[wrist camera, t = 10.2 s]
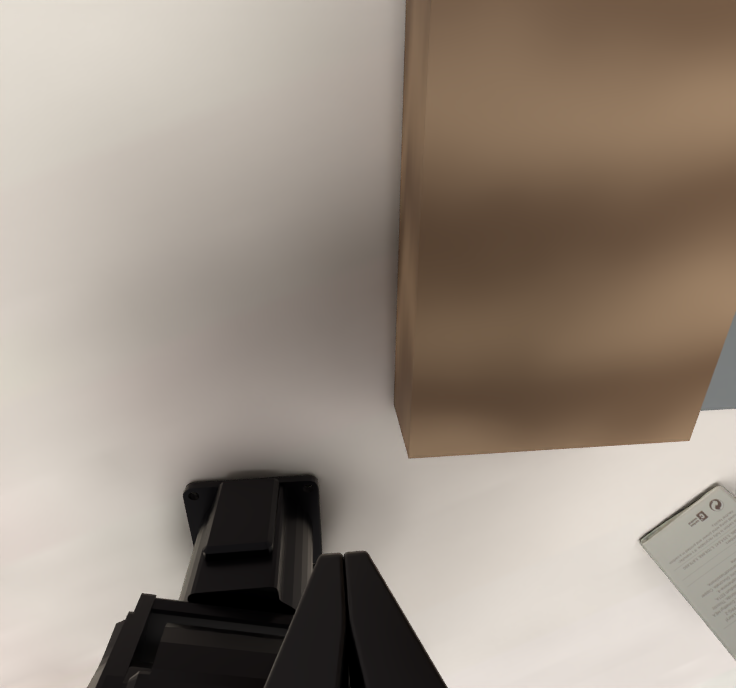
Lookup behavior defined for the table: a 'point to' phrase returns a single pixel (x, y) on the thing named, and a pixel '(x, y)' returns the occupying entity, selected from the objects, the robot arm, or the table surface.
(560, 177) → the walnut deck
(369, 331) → the table surface
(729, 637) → the skincare box
